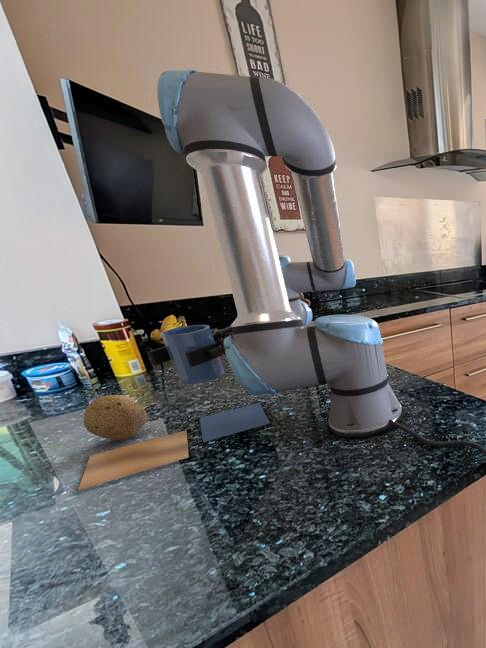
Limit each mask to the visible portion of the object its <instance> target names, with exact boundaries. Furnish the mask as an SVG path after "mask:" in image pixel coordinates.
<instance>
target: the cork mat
mask: <svg viewBox="0 0 486 648" xmlns="http://www.w3.org/2000/svg"><path fill="white" fill-rule="evenodd" d="M187 431H188V430H187V429H186V430H181V431H177V432H173V433H170V434H166V435H162V436H158V437H155V438H151V439H148V440H144V441H140V442H136V443H133V444H128V445H125V446H121V447H117V448H114V449H110V450H106V451H102V452H99V453H95V454H92V455H91V454H90V455H89V458H88V460H87V462H86V466H85V469H84V472H83V475H82V477H81V480H80V483H79V486H78V489H77V491H82V490H85V489H88V488H91V487H96V486H99V485H101V484H105V483H108V482H111V481H115V480H118V479H121V478H125V477H128V476H132V475H134V474H138V473H141V472H145V471H148V470H151V469H152V470H153V469H155V468H158V467H162V466H165V465H168V464H171V463H175V462H178V461H182V460H185V459H188V458H190V457H189V444H188V432H187Z"/></svg>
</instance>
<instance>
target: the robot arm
mask: <svg viewBox="0 0 486 648" xmlns="http://www.w3.org/2000/svg"><path fill="white" fill-rule="evenodd" d="M156 91H157V92H156V94H157V105H158V111H159V114H160V118H161V123H162V124H163V125H164V132H165V134H166V135H165V136H166V138H167V139H168V142H169V144H170V146H171V147H172V148H173V150H175V152H176V153H178V154H181V155H182V156H185V158H186V163H187V164H188V165H189V166H190V167H191V168H193V169H194V170H195V171H197V172H198V173H199V174H200V175H201V178H202V179H201V180H202V183H203V186H204V191H205V193H206V197H207V201H208V206H209V209H210V214H211V216H212V220H213V224H214V229H215V232H216V236H217V240H218V244H219V248H220V251H221V255H222V259H223V262H224V267H225V271H226V274H227V278H228V282H229V284H230V289H231V293H232V297H233V301H234V304H235V308H236V312H237V317H235V320H233V322H232V323H231V324H230V326H226V327H225V328H221V329H218V328H215V327H213V328H211V329H210V330H211V332H212V335H213V338H214V341H215V343H212V344H209V345H207V346H204V347H201V348H198V349H195V350H192V351H189V352H186V353H185V354H186V357H187V359H188V362H189V364H190V367H194V366H197V365H199V364H202V363H204V362H207V361H209V360H212V359H214V358H217V357H220V358H221V357H223V356H225V357H226V360H227V362H228V364H229V368H230V369H231V372H232V374H233V375H234V377H235V379H236V381H237V383H238V384H239V386H240V387H241V388H242V389H243V390H244V392H247V393H248V394H250V395H253V396H262V395H270V394H275V395H278V394H280V393H282V392H288V391H293V390H299V389H304V388H312V387H316V386H322V385H328V384H329V387H330V392H331V397H330V405H329V413H328V420H327V421H328V426H329V429H330V431H331V433H332V434H333V435H335V436H338V437H342V438H348V439H349V438H351V439H355V438H356V439H357V438H366V437H371V436H375V435H379V434H381V433H384V432H387V431H388V430H390V429H392V428H394V427H395V428H397V429H399V430H400V431H402V432H405V433H407V434H409V435H410V436H412V437H414V438H416V440H418V441H419V442H421V443H423V444H425V445H427V446H431V447H437V448H442V447H443V448H444V447H456V446H465V447H470V448H473V449H476V450H479V451H480V452H481V453H482V454H483V455H484V457H486V447H484V446H483V445H481V444H479V443H476V442H473V441H468V440H449V441H433V440H430V439H427V438H425V437H424V436H422V435H421V434H420V433H418V432H416V431H414V430H413V429H411V428H409V427H407V426H404V425H403V424H401V423H400V422H401V420H402V419H403V415H404V414H403V408H402V405H401V403H400V402H399V399H398V398H397V396H396V394H395V391H394V390H393V389H392V386H391V385H390V382H389V378H388V377H389V376H388V370H387V364H386V359H385V353H384V347H383V344H384V341H383V339H382V335H381V330H380V327H379V324H378V323H377V322H376V321H375V320H374V319H372V318H370V317H367V316H363V315H356V314H355V315H354V314H329V315H323V316H320V317H319V316H318V317H317V318H316V319H314V326H312V325H311V326H310V327H306V326H307V325H309V324H310V323H311V322H312V320H313V312H312V309H311V308H310V306H309V307H308V305H307V304H306V303H305V302H303V301H300V298H299V294H298V293H310V292H311V293H312V292H322V291H336V290H344V289H345V290H346V289H352V288H354V287H356V285H357V280H356V279H357V278H356V274H355V273H356V272H355V268H354V264H353V261H352V260H351V259H348V258H345V252H344V251H345V250H344V244H343V238H342V231H341V230H342V229H341V225H340V218H339V217H340V216H339V211H338V203H337V197H336V190H335V183H334V177H333V173H334V172H335V171H336V168H337V160H336V152H335V149H334V145H333V144H334V143H333V141H332V139H331V137H330V134H329V132H328V130H327V128H326V127H325V125H324V123H323V121H322V119H321V118H320V117H319V115H318V113H317V112H316V111H315V110H314V108H313V107H312V106H311V105H310V104H309V103H308V102H307V101H306V100H305V99H304V97H302V96H301V95H300V94H299V93H298V92H297V91H295V90H294V89H292V88H291V87H289V86H288V85H286V84H285V83H283V82H281V81H279V80H276V79H274V78H270V77H266V76H264V77H263V76H257V77H256V76H247V75H237V74H226V73H218V72H217V73H216V72H205V71H197V70H195V69H187V70H179V69H178V70H176V69H175V70H174V69H168V70H165V71H163V72H162V73H161V74H160V76H159V78H158V81H157V86H156ZM266 157H281V158H282V163H283V165H284V167H285V168H286V169H287V170H288V171H290V172H291V176H292V180H293V184H294V188H295V193H296V197H297V201H298V205H299V210H300V213H301V217H302V222H303V227H304V230H305V234H306V239H307V243H308V248H309V250H310V255H311V260H312V261H294V262H293V261H292V259H291V257H290V256H289V255H287V254H279V252H278V249H277V244H276V239H275V235H274V230H273V227H272V222H271V218H270V214H269V210H268V205H267V202H266V197H265V192H264V188H263V183H262V180H261V179H262V178H261V177H262V175H263V174H264V173H265V172H266V170H268V165H267V161H266V160H267V159H266ZM147 354H148V356H149V358H150V361H151V363H152V365H153V366H159V365H162V364H164V363H168V362H171V359H170V356H169V354H168V351H167V349H166V346H165V345H164V346H162V347H159V348H155V349H151V350H149V351H147Z"/></svg>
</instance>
